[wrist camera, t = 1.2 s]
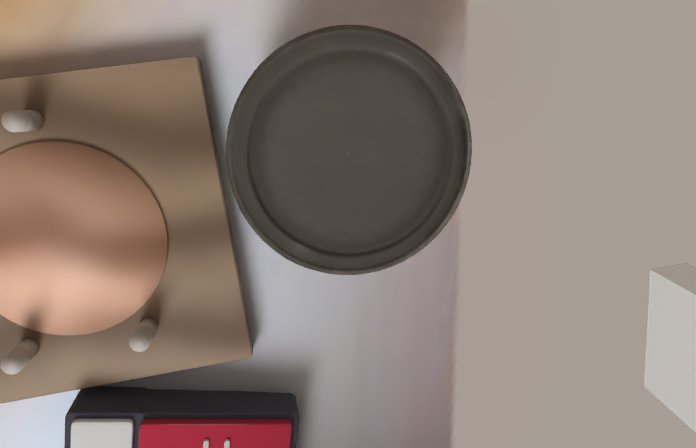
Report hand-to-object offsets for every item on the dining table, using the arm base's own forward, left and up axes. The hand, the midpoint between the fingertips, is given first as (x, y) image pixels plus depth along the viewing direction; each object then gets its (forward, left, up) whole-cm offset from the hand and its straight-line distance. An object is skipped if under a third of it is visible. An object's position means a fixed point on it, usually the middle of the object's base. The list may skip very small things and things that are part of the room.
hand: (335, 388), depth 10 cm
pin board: (-1, +14, -26) cm, 30 cm away
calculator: (-19, +10, -27) cm, 34 cm away
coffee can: (+3, -3, -27) cm, 27 cm away
